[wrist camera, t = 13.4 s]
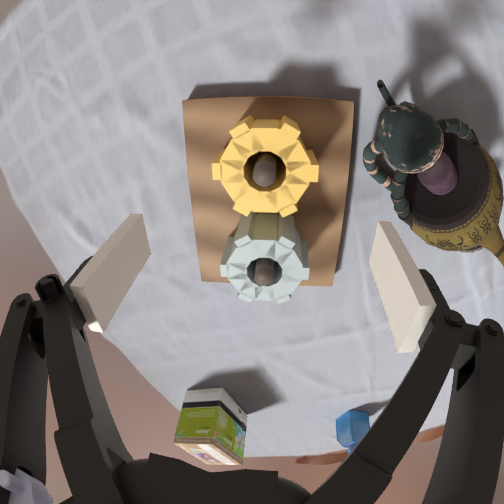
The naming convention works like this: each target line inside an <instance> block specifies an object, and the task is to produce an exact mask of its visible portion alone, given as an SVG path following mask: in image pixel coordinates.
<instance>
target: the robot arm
mask: <svg viewBox="0 0 504 504" xmlns="http://www.w3.org/2000/svg"><path fill="white" fill-rule="evenodd" d="M150 255H151V252H150V248H149V243H148V239H147V234H146V229H145V225H144V220H143V215H142V214H131V215H130V216H129V217H128V218H127V219H126V220H125V221H124V222H123V223H122V224H121V225H120V226H119V228H118V229H117V230H116V231H115V232H114V233H113V234H112V235H111V236H110V237H109V239H108V240H107V241H106V242H105V243H104V244H103V245H102V247H101V248H100V249H99V250H98V251H97V252H96V254H95V255H94V256H91V257H89V258H88V259H86V260H85V261H84V262H83V263H82V264H81V265H80V266H79V269H77V270H76V271H75V274H73V275H72V276H71V277H70V279H69V280H68V281H67V282H66V284H65V285H64V286H62V284H61V282H60V279H59V277H58V275H56V274H50V275H47V276H45V277H43V278H41V279H40V280H39V281H38V282H37V283H36V286H35V289H36V291H37V293H38V295H39V297H40V299H41V300H39V301H33V299H32V297H31V295H30V294H28V293H24V294H21V295H19V296H17V297H16V298H15V299H14V300H13V302H12V303H11V306H10V309H9V312H8V314H7V317H6V321H5V324H4V327H3V330H2V333H1V336H0V504H53V498H52V497H51V495H50V494H49V493H48V491H47V489H46V487H45V484H46V443H45V420H46V395H47V382H48V375H49V381H50V387H51V393H52V398H53V403H54V408H55V412H56V417H57V421H58V425H59V430H57V431H55V433H54V438H55V443H56V446H57V450H58V454H59V457H60V460H61V464H62V467H63V470H64V473H65V476H66V479H67V482H68V484H69V487H70V490H71V493H72V495H73V496H72V497H70V498H68V499H67V500H65V501H63V502H61V503H59V504H374V503H375V502H376V500H377V499H378V498H379V497H380V495H381V494H382V493H383V491H384V490H385V489H386V487H387V486H388V484H389V483H390V481H391V479H392V474H393V472H394V470H395V468H396V467H397V465H398V464H399V462H400V461H401V460H402V458H403V456H404V455H405V453H406V452H407V450H408V449H409V447H410V445H411V444H412V442H413V440H414V439H415V437H416V435H417V434H418V432H419V430H420V428H421V427H422V425H423V423H424V421H425V419H426V418H427V416H428V414H429V412H430V410H431V408H432V406H433V404H434V402H435V400H436V398H437V396H438V394H439V392H440V390H441V388H442V386H443V383H444V381H445V379H446V377H447V374H448V372H449V370H450V368H453V369H454V376H453V384H452V391H451V397H450V403H449V409H448V414H447V419H446V424H445V429H444V433H443V437H442V441H441V445H440V449H439V453H438V457H437V460H436V464H435V467H434V471H433V474H432V477H431V480H430V483H429V486H428V489H427V491H426V494H425V497H424V500H423V502H422V504H492V501H493V496H494V492H495V488H496V484H497V479H498V473H499V468H500V462H501V456H502V448H503V441H504V332H503V329H502V327H501V326H500V324H499V323H497V322H496V321H494V320H492V319H488V318H487V319H483V320H482V322H481V323H480V325H479V326H475V325H471V324H467V323H466V322H465V319H464V318H463V317H462V315H461V314H459V313H458V312H456V311H454V310H450V308H449V306H448V304H447V302H446V300H445V298H444V296H443V294H442V293H441V291H440V289H439V287H438V285H436V284H437V283H436V281H435V280H434V278H433V276H432V275H431V274H430V273H429V272H428V271H426V270H425V269H418V268H417V266H416V264H415V263H414V261H413V259H412V257H411V255H410V254H409V252H408V250H407V248H406V247H405V245H404V243H403V242H402V240H401V238H400V236H399V235H398V233H397V231H396V230H395V228H394V227H393V225H392V223H391V222H384V221H378V224H377V229H376V234H375V238H374V243H373V248H372V252H371V256H370V261H369V265H370V267H371V270H372V273H373V276H374V278H375V281H376V284H377V287H378V290H379V293H380V296H381V299H382V302H383V305H384V308H385V311H386V314H387V318H388V321H389V324H390V327H391V331H392V334H393V338H394V341H395V345H396V348H397V352H398V353H404V352H413V351H414V349H415V347H416V346H417V344H419V347H420V352H419V354H418V355H417V357H416V359H415V360H414V362H413V364H412V366H411V367H410V369H409V371H408V373H407V374H406V376H405V377H404V379H403V381H402V382H401V384H400V385H399V387H398V389H397V390H396V392H395V393H394V395H393V396H392V398H391V399H390V401H389V402H388V404H387V405H386V407H385V408H384V409H383V411H382V412H381V414H380V415H379V417H378V418H377V419H376V421H375V422H374V423H373V425H372V426H371V427H370V429H369V430H368V431H367V433H366V434H365V435H364V437H363V438H362V439H361V440H360V442H359V443H358V444H357V445H356V447H355V448H354V449H353V450H352V451H351V453H350V454H349V455H348V456H347V457H346V459H345V460H344V461H343V462H342V463H341V464H340V465H339V467H338V468H337V469H336V470H335V471H334V472H333V473H332V474H331V475H330V476H329V478H328V479H327V480H326V481H325V482H324V483H323V484H322V485H321V486H320V487H319V488H318V489H317V490H316V491H315V492H314V493H313V494H312V495H311V494H310V493H309V492H308V491H307V490H306V489H304V488H303V487H301V486H300V485H298V484H296V483H294V482H293V481H290V480H287V479H285V478H281V477H278V471H264V470H263V471H262V470H250V469H243V470H233V471H224V472H207V471H205V470H202V469H200V468H198V467H195V466H193V465H191V464H188V463H186V462H184V461H182V460H180V459H175V458H170V457H166V456H162V455H158V454H153V453H150V455H149V458H148V459H139V460H133V458H132V456H131V455H130V454H129V452H128V451H127V449H126V448H125V446H124V444H123V442H122V439H121V437H120V435H119V432H118V430H117V427H116V425H115V423H114V420H113V417H112V415H111V412H110V410H109V407H108V404H107V402H106V399H105V396H104V393H103V390H102V387H101V384H100V381H99V378H98V375H97V372H96V369H95V365H94V362H93V359H92V355H91V351H90V348H89V344H88V340H87V336H86V333H85V331H84V329H83V326H84V325H85V323H86V322H87V324H88V326H89V328H90V330H92V331H96V332H101V333H104V331H105V329H106V327H107V326H108V324H109V322H110V320H111V319H112V317H113V315H114V313H115V312H116V310H117V308H118V307H119V305H120V303H121V301H122V300H123V298H124V296H125V295H126V293H127V291H128V290H129V288H130V287H131V285H132V283H133V282H134V280H135V278H136V277H137V275H138V274H139V272H140V270H141V269H142V267H143V266H144V264H145V263H146V261H147V259H148V258H149V256H150Z"/></svg>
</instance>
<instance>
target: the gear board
mask: <svg viewBox="0 0 504 504" xmlns="http://www.w3.org/2000/svg"><path fill="white" fill-rule="evenodd" d="M182 105H183V119H184V132H185V144H186V155H187V166H188V176H189V186H190V195H191V204H192V212H193V221H194V229H195V236H196V244H197V251H198V259H199V266H200V272H201V279H202V281H207V282H226V283H231V282H230V281H229V280H228V277H221V271H220V263H221V259H222V256H223V253H224V250H225V246H226V243H227V240H228V237H229V236H232V237H234V235H235V233H236V231H237V229H238V226H239V222H240V218H241V215H243V214H241V213H239V212H237V211H235V210H234V209H233V206H234V203H235V202H234V201H233V200H232V198H231V197H230V195H229V194H228V192H227V191H226V189H225V188H224V186H223V185H222V183H221V180H213V175H212V162H213V161H214V160H215V159H216V157H217V156H218V155H219V153H220V152H221V151H222V150H223V148H227V146H228V144H229V143H230V141H231V139H232V138H233V137H232V136H231V134H230V133H229V131H230V130H231V129H232V128H233V127H234V126H235V125H236V124H237V123H238V122H239V121H241V120H243V119H244V118H246V117H248V116H250V115H252V117H253V118H254V120H257V119H278V120H281V119H282V117H283V116H284V115H285V116H287V117H288V118H290V119H292V120H293V121H295V122H297V123H298V126H299V128H300V131H301V133H300V135H299V136H300V138H301V140H302V142H303V144H304V145H305V147H306V150H313V153H314V155H315V157H316V160H317V162H318V164H319V172H318V182H309V186H308V187H307V189H306V190H305V192H304V193H303V194H302V196H301V197H300V199H299V200H298V202H297V209H298V211H296V212H294V213H292V214H290V215H291V216H293V217H294V227H295V229H296V230H297V232H298V234H299V235H300V239H306V241H307V249H308V258H309V266H310V270H309V278H308V280H301V283H300V284H299V285H302V286H332V285H333V280H334V274H335V268H336V263H337V257H338V250H339V244H340V238H341V231H342V224H343V217H344V209H345V201H346V193H347V184H348V175H349V165H350V154H351V142H352V129H353V113H354V102H352V101H348V100H338V99H327V98H314V97H295V96H229V97H210V98H196V99H187V100H183V101H182ZM250 160H251V162H252V163H253V165H254V171H253V180H254V181H255V183H256V184H258V185H259V186H263V187H266V186H270V185H271V184H273V183H274V181H275V179H276V170H277V169H279V168H281V166H282V165H283V163H284V162H283V160H282V158H281V157H279V156H278V155H276V154H274V153H272V152H270V151H259V152H257V153H255V154H253V155H251V156H250ZM255 213H256V214H277V215H279V214H280V212H277V213H271V212H255ZM274 261H275V260H273V259H271V258H257V262H256V269H255V276H254V279H255V281H256V283H257V284H259V285H262V286H267V285H270V284H271V283H272V282H273V280H274Z"/></svg>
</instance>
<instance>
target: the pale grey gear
mask: <svg viewBox="0 0 504 504" xmlns="http://www.w3.org/2000/svg"><path fill="white" fill-rule="evenodd" d="M257 258H271V259H273V260H275V261H274V280H273V282H272V283H271V284H270V285H267V286H262V285H259V284H257V283H256V281H255V279H254V276H255V269H256V262H257ZM309 270H310V266H309V258H308V249H307V241H306V239H300V235H299V234H298V232H297V230H296V229H295V227H294V217H293V216H291V215H287V216H285V217H282V216H281V214H279V215H277V214H256V213H255V212H252V211H251V212H250V213H249V215H248V216H245V215H241V218H240V222H239V226H238V229H237V231H236V233H235V235H234V237H232V236H229V237H228V240H227V243H226V246H225V250H224V253H223V256H222V259H221V263H220V271H221V277H228V280H229V281H230V282H231V283H232V285H233V286H234V287H235V288H236V290H237V291H238V298H240V299H242V300H244V301H247V302H249V303H250V302H251V301H252V299H254V300H268V301H274V300H276V301H277V302H278V304H281V303H283V302H286V301H288V300H291V293H292V292H293V291H294V289H295V288H296V287H297V286H298V285H299V284H300V283H301V280H308V278H309Z"/></svg>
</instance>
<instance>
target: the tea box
mask: <svg viewBox="0 0 504 504" xmlns="http://www.w3.org/2000/svg"><path fill="white" fill-rule="evenodd" d="M246 426H247V415H246V414H245V412H244V411H243V410H242V409H241V408H240V407H239V406H238V405H237V404H236V403H235V401H234V400H233V399H232V398H231V397H230V396H229V394H228V393H227V392H226V391H225V390H224V389H223V388H222V387H221V388H209V389H197V390H187V391H186V395H185V398H184V402H183V406H182V410H181V414H180V418H179V422H178V425H177V429H176V433H175V438H174V442H173V443H174V444H176V445H177V446H179V447H180V448H182V449H183V450H185V451H186V452H188V453H189V454H191V455H193V456H194V457H196V458H197V459H199V460H201V461H202V462H204V463H206V464H217V465H240V464H241V465H242V463H243V455H244V446H245V436H246Z"/></svg>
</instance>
